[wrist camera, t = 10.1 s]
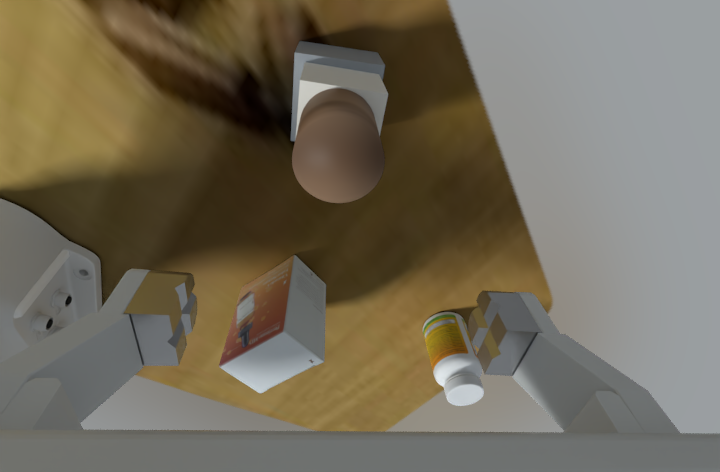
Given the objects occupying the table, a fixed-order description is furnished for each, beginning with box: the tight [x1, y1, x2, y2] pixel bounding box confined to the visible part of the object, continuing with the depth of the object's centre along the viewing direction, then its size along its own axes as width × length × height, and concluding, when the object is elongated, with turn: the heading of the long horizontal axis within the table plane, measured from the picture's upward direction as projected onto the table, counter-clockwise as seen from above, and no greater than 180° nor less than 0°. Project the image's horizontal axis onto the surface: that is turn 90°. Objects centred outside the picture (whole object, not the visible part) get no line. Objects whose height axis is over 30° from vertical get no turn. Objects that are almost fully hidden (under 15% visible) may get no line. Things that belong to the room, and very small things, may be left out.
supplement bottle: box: [423, 312, 484, 406], centre depth 44 cm, size 5×5×10 cm
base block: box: [291, 41, 385, 141], centre depth 29 cm, size 6×6×5 cm
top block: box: [295, 62, 388, 140], centre depth 25 cm, size 5×5×5 cm
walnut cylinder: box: [292, 88, 385, 203], centre depth 21 cm, size 4×4×5 cm
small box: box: [219, 255, 326, 393], centre depth 38 cm, size 8×6×10 cm
